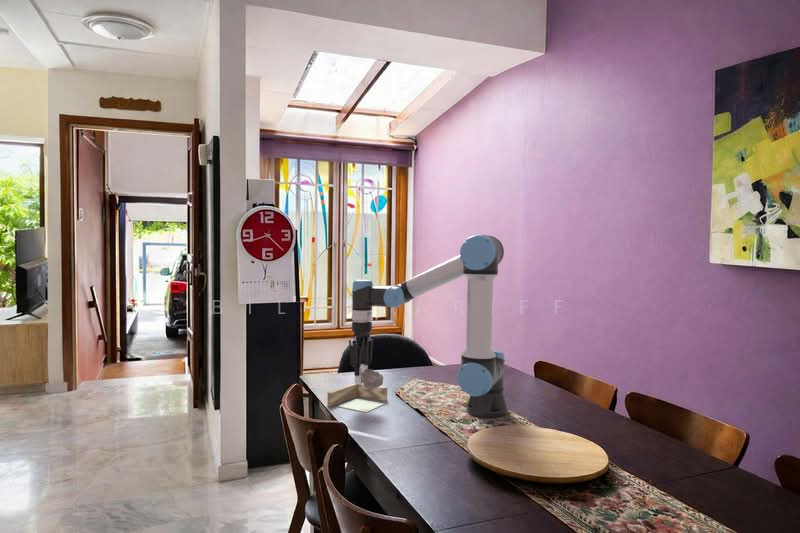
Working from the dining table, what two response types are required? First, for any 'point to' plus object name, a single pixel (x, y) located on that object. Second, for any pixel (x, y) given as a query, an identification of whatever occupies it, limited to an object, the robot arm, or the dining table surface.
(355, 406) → the pad
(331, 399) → the arena
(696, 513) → the dining table surface
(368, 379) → the stone
